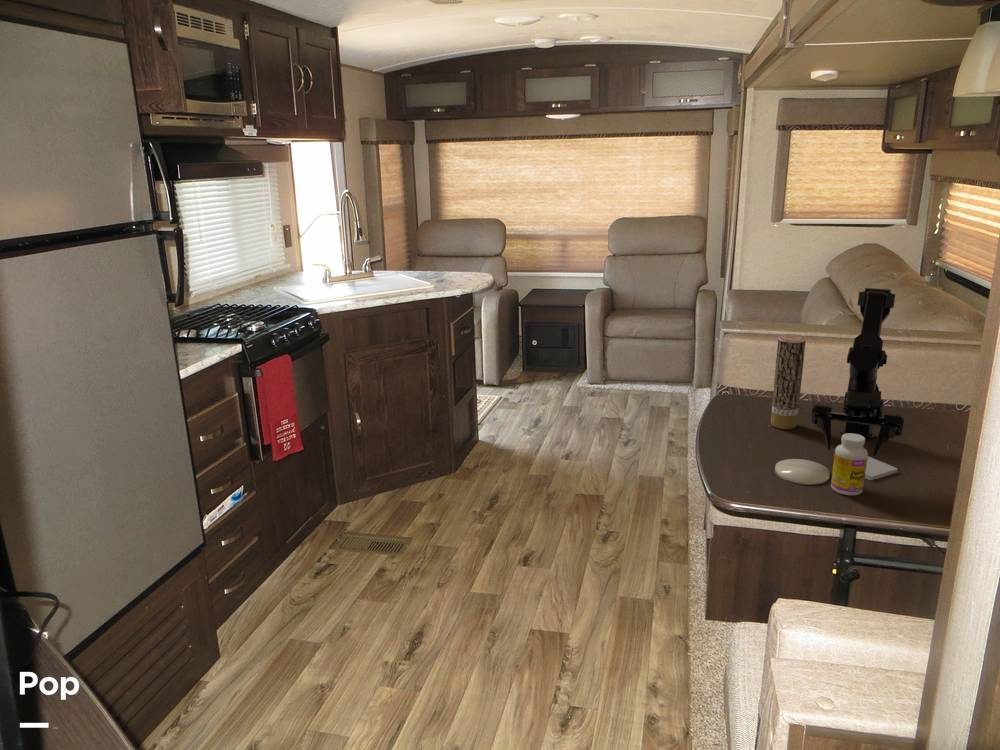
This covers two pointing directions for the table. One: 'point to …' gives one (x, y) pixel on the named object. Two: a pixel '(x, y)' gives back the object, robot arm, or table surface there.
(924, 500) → the table surface
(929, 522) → the table surface
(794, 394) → the paper tube
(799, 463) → the round coaster
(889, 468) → the square tile
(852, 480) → the supplement bottle
